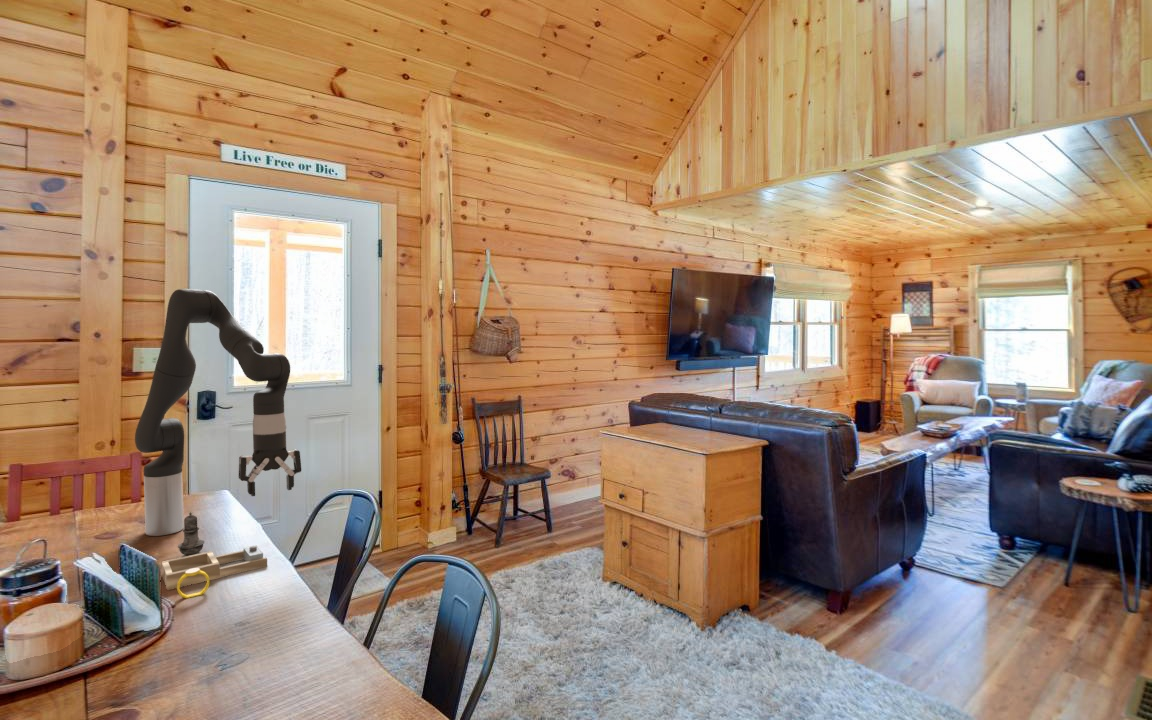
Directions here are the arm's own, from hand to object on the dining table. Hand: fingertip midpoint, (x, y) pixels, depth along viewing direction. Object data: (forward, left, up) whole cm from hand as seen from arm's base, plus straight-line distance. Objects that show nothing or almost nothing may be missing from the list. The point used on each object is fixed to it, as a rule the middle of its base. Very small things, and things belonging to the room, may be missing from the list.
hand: (271, 492), depth 149 cm
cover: (-1, -4, -18) cm, 18 cm away
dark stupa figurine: (-15, -16, -18) cm, 28 cm away
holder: (-1, -13, -18) cm, 22 cm away
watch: (+11, -19, -18) cm, 28 cm away
